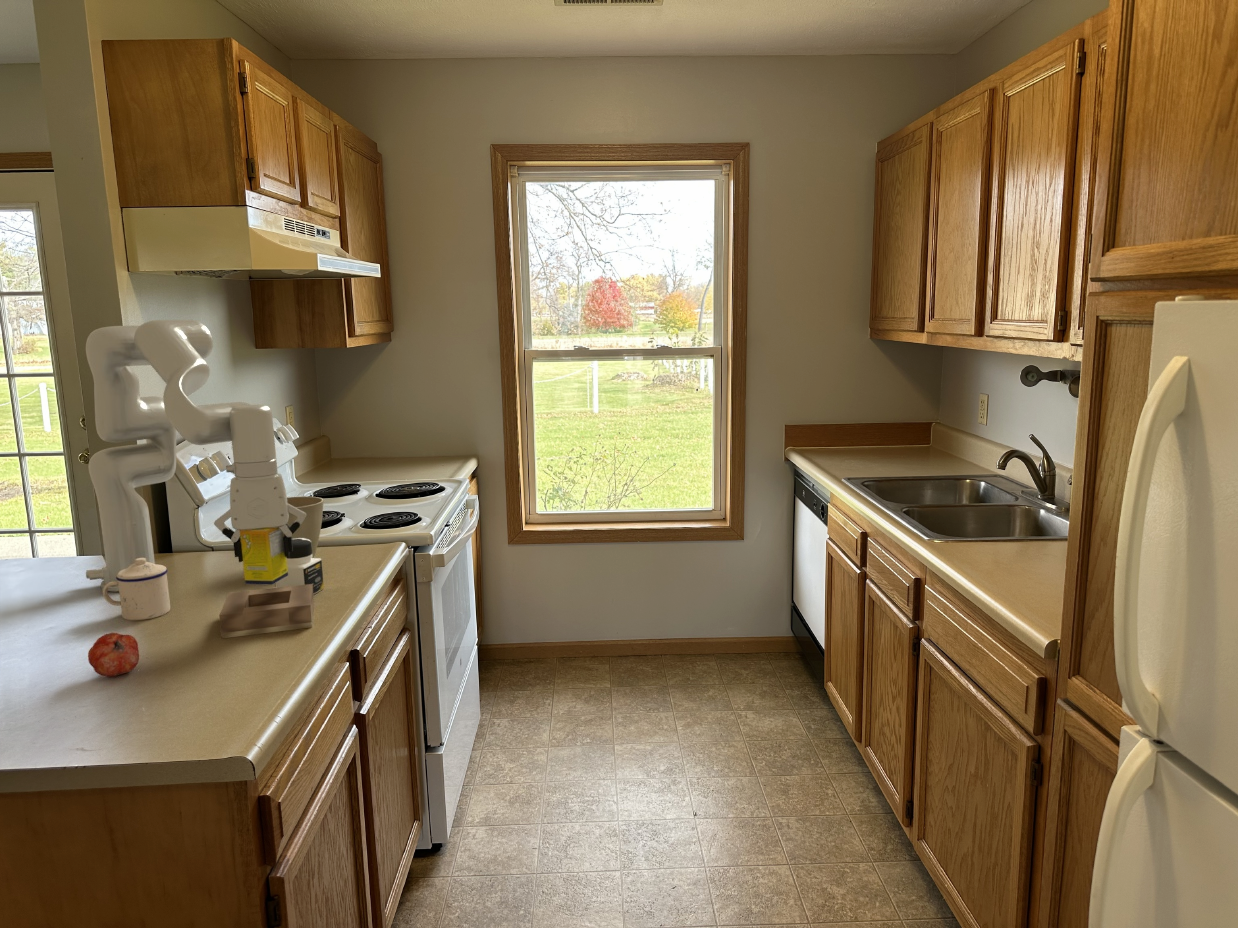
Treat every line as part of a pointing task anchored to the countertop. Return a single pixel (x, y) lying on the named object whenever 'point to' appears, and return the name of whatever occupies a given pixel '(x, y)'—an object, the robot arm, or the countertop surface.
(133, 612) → the teacup with lid
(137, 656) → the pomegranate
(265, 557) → the supplement box
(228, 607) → the wooden square frame
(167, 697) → the countertop surface
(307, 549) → the medicine bottle
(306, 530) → the plant pot
